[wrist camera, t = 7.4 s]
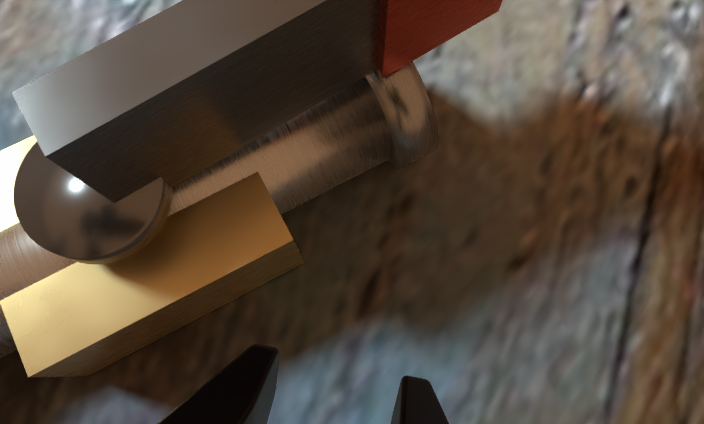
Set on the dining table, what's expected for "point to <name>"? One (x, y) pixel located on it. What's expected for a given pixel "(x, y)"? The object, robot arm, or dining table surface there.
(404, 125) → the valve body
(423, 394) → the robot arm
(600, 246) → the dining table surface
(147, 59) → the lever
